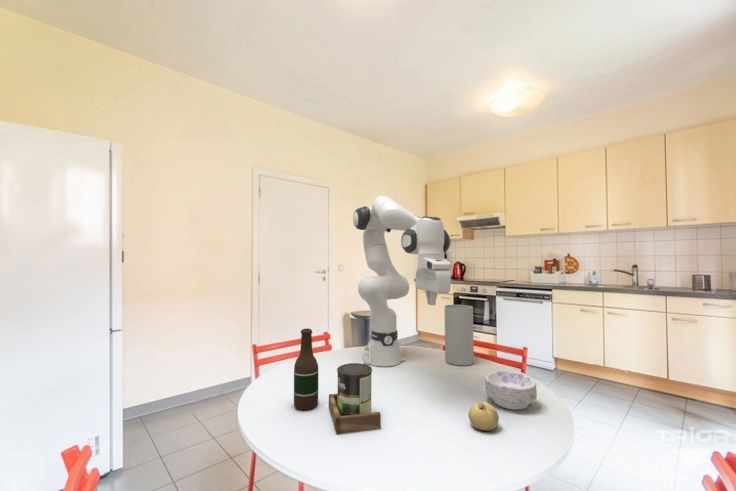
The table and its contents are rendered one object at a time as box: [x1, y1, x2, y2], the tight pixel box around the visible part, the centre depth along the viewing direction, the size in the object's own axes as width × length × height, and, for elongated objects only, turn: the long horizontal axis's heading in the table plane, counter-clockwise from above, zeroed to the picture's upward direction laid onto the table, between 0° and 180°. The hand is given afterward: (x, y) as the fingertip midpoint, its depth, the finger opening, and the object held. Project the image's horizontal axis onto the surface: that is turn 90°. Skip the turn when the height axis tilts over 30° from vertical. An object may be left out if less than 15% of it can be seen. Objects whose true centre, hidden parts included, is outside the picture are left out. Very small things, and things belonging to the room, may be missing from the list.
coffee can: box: [336, 362, 373, 416], centre depth 96 cm, size 10×10×14 cm
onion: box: [467, 401, 500, 431], centre depth 91 cm, size 8×8×7 cm
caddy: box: [328, 393, 382, 435], centre depth 96 cm, size 16×12×4 cm
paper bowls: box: [484, 370, 538, 411], centre depth 105 cm, size 15×15×8 cm
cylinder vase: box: [444, 304, 475, 367], centre depth 149 cm, size 12×12×25 cm
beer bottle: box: [293, 328, 319, 412], centre depth 104 cm, size 8×8×24 cm
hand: (431, 304), depth 110 cm, fingers closed
